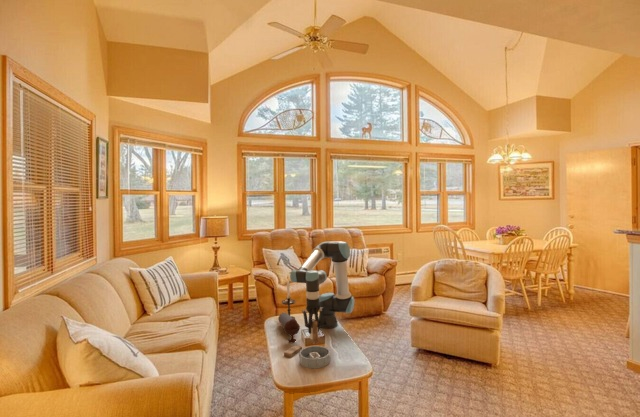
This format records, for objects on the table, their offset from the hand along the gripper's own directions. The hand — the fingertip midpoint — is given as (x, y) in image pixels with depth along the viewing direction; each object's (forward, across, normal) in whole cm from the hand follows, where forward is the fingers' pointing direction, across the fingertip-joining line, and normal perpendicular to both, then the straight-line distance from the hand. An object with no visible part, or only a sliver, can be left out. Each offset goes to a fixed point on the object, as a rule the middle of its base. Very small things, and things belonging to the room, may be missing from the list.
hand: (314, 338), depth 196 cm
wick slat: (+2, 0, 0) cm, 2 cm away
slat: (+14, +8, -16) cm, 23 cm away
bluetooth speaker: (+13, 0, -53) cm, 55 cm away
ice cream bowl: (+13, +3, -33) cm, 36 cm away
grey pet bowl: (+13, 0, 0) cm, 13 cm away
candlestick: (+13, -8, -74) cm, 76 cm away
